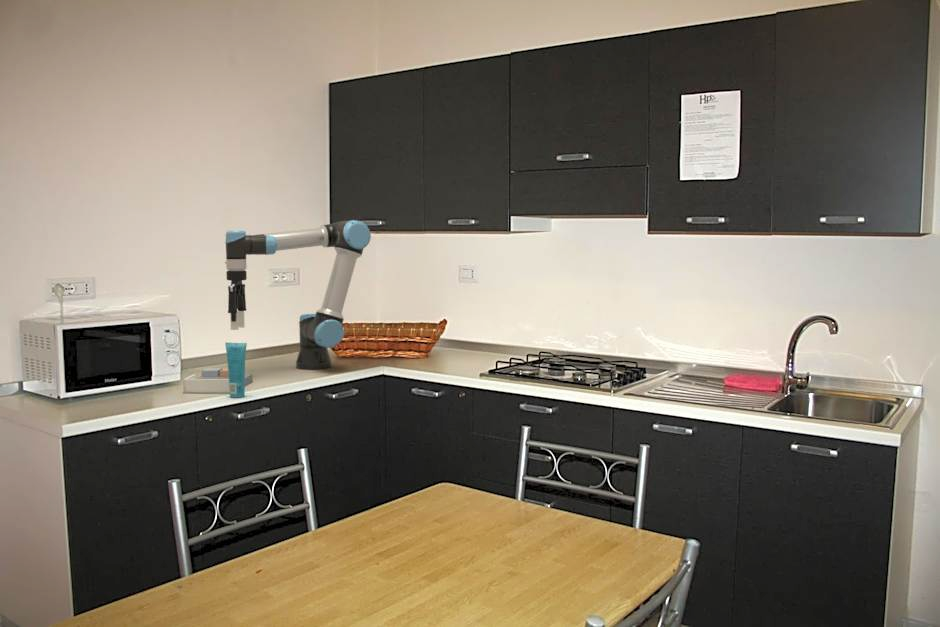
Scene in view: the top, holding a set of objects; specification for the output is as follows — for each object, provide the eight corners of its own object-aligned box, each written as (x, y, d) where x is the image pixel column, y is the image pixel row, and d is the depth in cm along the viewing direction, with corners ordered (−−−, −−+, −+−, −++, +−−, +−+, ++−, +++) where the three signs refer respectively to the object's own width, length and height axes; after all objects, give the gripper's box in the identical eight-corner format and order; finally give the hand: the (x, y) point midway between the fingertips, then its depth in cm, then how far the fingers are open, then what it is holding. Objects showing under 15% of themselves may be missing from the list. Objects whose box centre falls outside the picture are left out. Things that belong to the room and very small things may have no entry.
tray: (242, 388, 302) (241, 374, 301) (233, 393, 291) (232, 379, 291) (194, 387, 302) (193, 374, 302) (183, 393, 292) (183, 379, 291)
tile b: (222, 374, 313) (222, 368, 313) (217, 377, 307) (217, 370, 307) (207, 374, 314) (207, 367, 313) (201, 377, 308) (201, 370, 307)
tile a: (240, 374, 313) (240, 368, 313) (235, 377, 307) (235, 370, 307) (225, 374, 313) (225, 368, 313) (220, 377, 307) (220, 370, 307)
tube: (249, 395, 289) (247, 341, 287) (246, 397, 284) (245, 343, 282) (227, 395, 288) (226, 341, 286) (224, 398, 284) (223, 343, 282)
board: (252, 381, 315) (252, 374, 315) (242, 388, 302) (242, 380, 302) (206, 381, 315) (206, 373, 315) (194, 387, 302) (194, 379, 302)
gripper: (235, 268, 326) (236, 325, 329) (218, 271, 306) (219, 331, 309) (253, 269, 326) (254, 325, 328) (237, 271, 306) (239, 331, 308)
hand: (237, 328), depth 319 cm, fingers open, 7 cm apart
